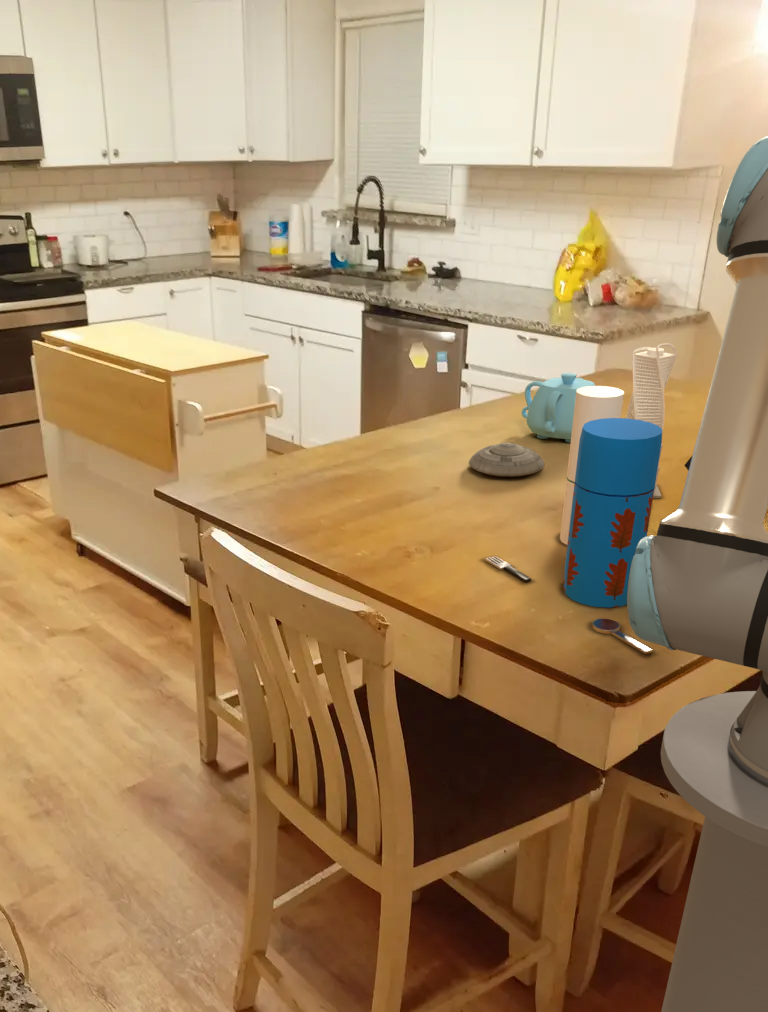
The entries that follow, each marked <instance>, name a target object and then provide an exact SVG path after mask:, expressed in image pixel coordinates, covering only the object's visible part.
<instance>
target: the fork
mask: <svg viewBox="0 0 768 1012" xmlns="http://www.w3.org/2000/svg"><path fill="white" fill-rule="evenodd" d="M484 561H485V562H486V563H488V564H490V565H491V566H493V567H495V568H496V569H497V570H499V571H505V572H506V573H509V574H510V575H512V576H514V577H515V578H517V579H518V580H520V581H521V582H523V583H529V582H532V578H531V577H529V576H528V575H526V574H524V573H523V572H521V571H520V570H518V569H516V568H515V567H513V565H512V564H510V563H509V562H508V561H505V560H504V559H502V558H500V557H498V556H497V555H493V556H488V557H484Z"/></svg>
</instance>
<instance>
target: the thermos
mask: <svg viewBox="0 0 768 1012" xmlns="http://www.w3.org/2000/svg"><path fill="white" fill-rule="evenodd" d="M661 444H662V445H663V434H662V429H661V428H660V427H659V426H657V425H655V424H653V423H650V422H646V421H641V420H635V419H627V418H626V417H624V418H623V417H621V418H606V419H597V420H592V421H589V422H587V423H585V424H584V426H583V428H582V432H581V436H580V441H579V450H578V458H577V467H576V475H575V484H574V492H573V501H572V510H571V518H570V527H569V535H568V544H567V545H566V552H565V553H566V554H565V563H564V573H563V575H564V576H563V592H564V594H565V596H567V597H568V598H569V599H571V600H572V601H574V602H577V603H579V604H582V605H586V606H590V607H594V608H607V609H608V608H609V609H610V608H618V607H623V606H627V594H628V582H629V575H630V569H631V564H632V560H633V557H634V556H635V552H636V547H637V545H638V543H639V541H640V540H641V539H642V538H644V537H648V532H649V525H650V519H651V512H652V507H653V502H654V501H653V500H654V498H653V495H654V488H655V482H656V476H657V470H658V463H659V464H660V461H659V457H660V458H661V456H660V451H661ZM661 452H662V451H661Z"/></svg>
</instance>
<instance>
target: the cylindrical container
mask: <svg viewBox="0 0 768 1012" xmlns="http://www.w3.org/2000/svg"><path fill="white" fill-rule="evenodd" d="M624 398H625V391H624V390H622V389H621V388H618V387H615V386H607V385H595V386H587V387H581V388H579V389H577V391H576V400H575V409H574V417H573V426H572V435H571V443H570V446H569V452H568V453H569V454H568V462H567V472H566V481H565V488H564V489H565V490H564V498H563V507H562V509H563V510H562V514H561V515H562V516H561V526H560V535H559V541H560V542H561V543H562V544H564V545H566V546H567V544H568V535H569V527H570V518H571V510H572V501H573V492H574V484H575V475H576V467H577V458H578V450H579V441H580V436H581V432H582V428H583V426H584V424H585V423H587V422H589V421H592V420H597V419H606V418H622V412H623V405H624Z"/></svg>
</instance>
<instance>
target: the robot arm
mask: <svg viewBox="0 0 768 1012" xmlns="http://www.w3.org/2000/svg"><path fill="white" fill-rule="evenodd" d="M727 188H728V189H727V191H726V195H725V197H724V200H723V203H722V207H721V210H720V220H719V222H718V225H717V230H716V249H717V251H718V253H719V254H720V255H723V256H724V257H726V258H727V262H726V265H725V273H726V274H727V275H728V276H729V278H730V279H731V280H732V282H733V284H734V285H735V291H734V294H733V297H732V302H731V305H730V309H729V313H728V317H727V321H726V325H725V329H724V333H723V338H722V339H721V345H720V348H719V352H718V356H717V360H716V363H715V367H714V371H713V375H712V379H711V383H710V387H709V390H708V394H707V398H706V402H705V405H704V410H703V413H702V416H701V417H702V418H701V421H700V425H699V430H698V432H697V437H696V441H695V444H694V447H693V448H694V449H693V453H692V455H691V456H690V458H689V459H688V460H687V461H686V462H685V464H684V468H686V470H687V475H686V479H685V482H684V486H683V487H684V488H683V491H682V494H681V498H680V501H679V502H680V503H679V506H678V508H677V509H676V510H675V511H674V512H672V513H670V514H668V515H667V516H666V517H664V518H663V519H661V520H660V522H659V524H658V528H657V531H656V535H652V534H650V535H647V537H644V538H642V539H641V540H640V541H639V543H638V545H637V547H636V552H635V556H634V557H633V560H632V564H631V569H630V575H629V582H628V594H627V605H626V607H627V610H626V611H627V618H628V624H629V626H630V629H631V630H632V632H633V633H634V635H635V636H636V637H637V638H639V639H640V640H642V641H646V642H648V643H651V644H656V645H659V646H662V647H666V649H668V650H669V651H676V650H677V651H680V652H685V653H689V654H693V655H697V656H702V657H705V658H710V659H714V660H718V661H722V662H727V663H731V664H734V665H739V666H742V667H747V668H750V669H755V670H759V671H762V675H761V678H760V683H759V687H758V688H757V690H755V691H756V693H755V694H754V695H753V697H752V698H751V700H750V701H749V702H748V704H747V705H746V707H745V708H744V709H743V711H742V712H741V714H740V715H739V716H738V718H737V719H736V721H735V722H734V723H733V725H732V727H731V731H730V735H729V740H728V745H727V748H728V752H729V755H730V757H731V759H732V761H733V762H734V763H735V764H736V766H737V767H738V768H739V769H740V770H741V771H742V772H744V773H745V774H746V775H747V776H749V777H750V778H752V779H753V780H755V781H757V782H758V783H760V784H762V785H764V786H766V787H768V531H767V529H766V528H765V524H764V520H765V517H766V513H767V510H768V136H765V137H763V138H760V139H759V140H758V141H756V142H755V143H754V144H752V145H751V147H750V148H749V149H748V150H747V151H746V152H745V154H744V155H743V156H742V158H741V160H740V162H739V164H738V165H737V168H736V169H735V172H734V174H733V176H732V177H731V181H730V183H729V186H728V187H727Z"/></svg>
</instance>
